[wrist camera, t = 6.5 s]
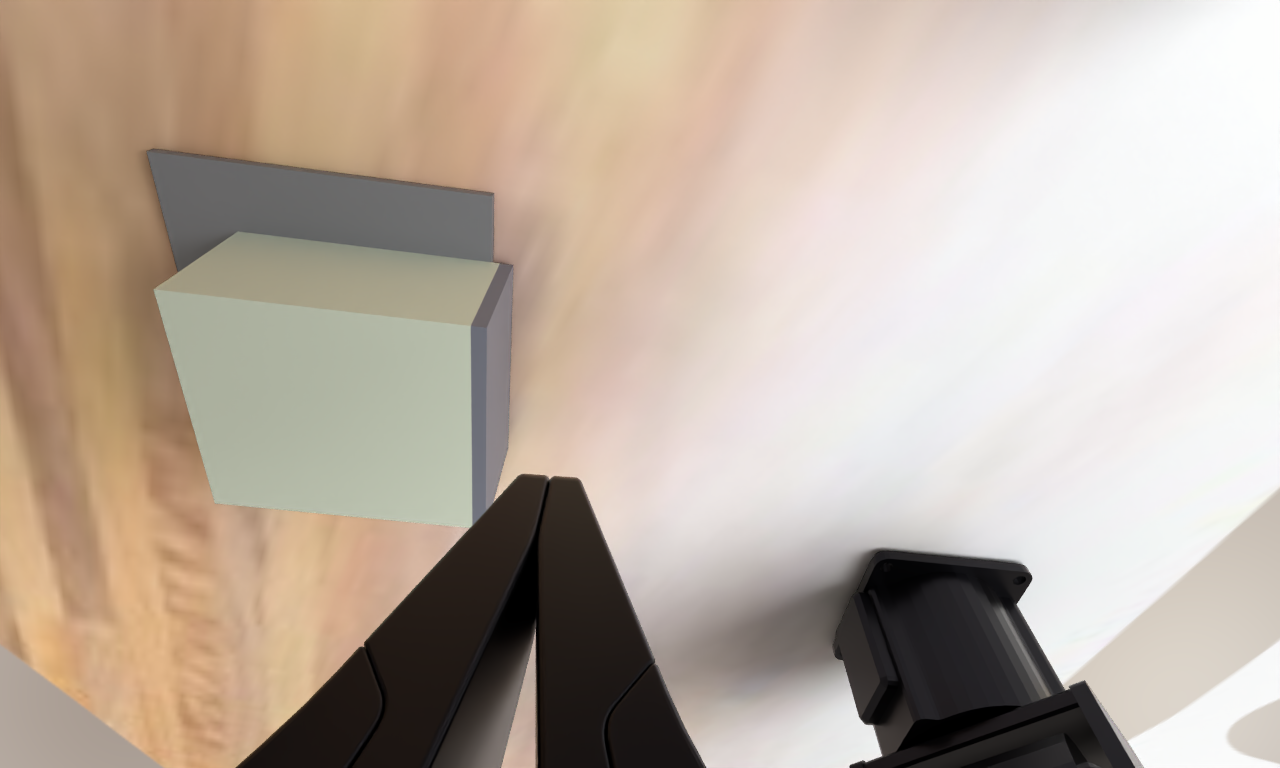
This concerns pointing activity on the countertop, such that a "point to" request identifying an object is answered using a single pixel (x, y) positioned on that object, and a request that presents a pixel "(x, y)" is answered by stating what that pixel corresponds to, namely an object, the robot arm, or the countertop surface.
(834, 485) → the countertop surface
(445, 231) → the mat
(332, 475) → the sage block
